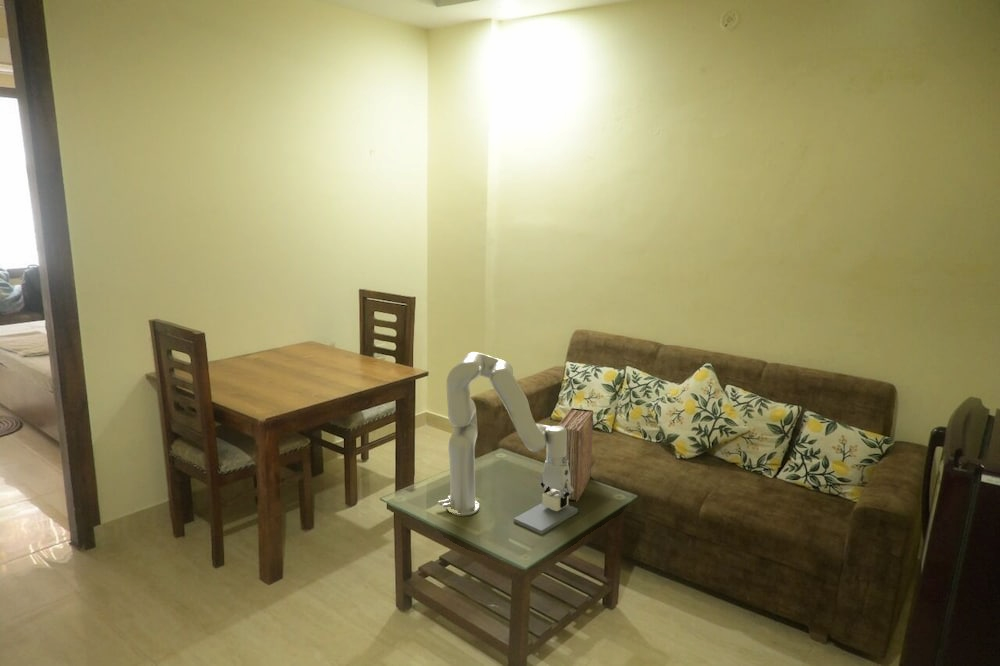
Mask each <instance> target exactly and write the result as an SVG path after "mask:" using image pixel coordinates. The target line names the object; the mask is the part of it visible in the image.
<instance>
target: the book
mask: <svg viewBox="0 0 1000 666" xmlns="http://www.w3.org/2000/svg"><path fill="white" fill-rule="evenodd" d="M593 421H594V410H589V409H582V408H574V407H571V408H570V409H569V411H568V412H567V413H566V415H565V416H563V418H562V419H561V421H560V422H559V423H558V424H557V425H556V426H562V427H564V428H566V430H567V460H569V462H568V465H569V471H570V485H571V486H572V488H573V489H574V491H573V492H572V493H571V494H570V495H569V497H568V500H572V501H575V502H576V503H577V502H579V500H580V499H581V497H582V494H583V492H584V491H585V489H586V487H587V485H588V483H589V481H590V479H591V478H592V456H593V455H592V454H593V451H592V449H593V427H594V426H593V425H594V423H593ZM566 489H567V488H566ZM563 492H564V491H563ZM567 492H568V489H567Z"/></svg>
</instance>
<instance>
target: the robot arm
mask: <svg viewBox="0 0 1000 666" xmlns="http://www.w3.org/2000/svg"><path fill="white" fill-rule="evenodd" d="M479 377H484V378H487V379H489V382H490V384H491V386H492V388H493V389H494V391H495V392H496V395H498V398H499V399H500V401H501V402H502V404H503V406H504V407H505V410H507V413H508V416H509V418H510V420H511V422H512V424H513V427H514V428H515V430H516V432H517V435H518V436H519V438H520V439H521V441H522V443H523V444H524V446H525V447H526V448H527V449H528V451H530V452H532V453H538V452H541V451H542V450H544V449H545V450H546V453H545V454H546V455H545V456H546V457H545V458H546V459H545V461H544V463H543V464H544V465H543V471H542V475H541V476H540V477H538V481H539V483H540V485H541V487H542V491H543V494H544V493H546V492H548V491H550V490H551V489H556V490H559V491H560V494H561V496H562V497H561V501H560V507H561V508H563V507H565V506H566V505H567V496H569V495H570V494H571V493H572V492H573V491H574V489H573V488H572V486H571V485H570V471H569V465H568V462H569V460H567V430H566V428H564V427H562V426H557V425H547V424H542V423H536V421H535V419H534V418H533V414H532V412H531V408H530V404H529V401H528V400H529V399H528V398H527V396H526V394H525V393H524V391H523V389H522V388H521V386H520V385H519V383H518V381H517V379H516V378H515V376H514V368H513V366H512V365H511V364H510V363H509V362H508V361H505V360H503V359H500V358H497V357H493V356H491V355H488V354H484V353H482V352H477V351H471V352H468V353H467V354H465V355H464V357H463V358H462V360H461V361H460V362H459V363H458V364H455V366H454V367H452V368H451V370H450V371H449V372H448V375H447V378H446V395H447V396H446V399H447V400H446V401H447V416H448V421H449V423H450V424H451V425H452V430H453V431H452V433H451V435H450V438H449V441H448V445H447V446H448V458H449V492H450V493H449V494H450V495H448V496H447V498H446V499H444V500H443V499H440V500H438V501H437V504H439V505H441V506H442V508H447V507H451V509H454V510H457V511H458V513H460V514H457V513H453V512H452V514H451V515H454V516H459V517H461V516H462V517H465V516H471V515H474V514H475V513H477V512H478V511H479V510H480V503H479V502H478V501H477V500H476V460H475V456H476V455H475V447H476V441H477V438H478V422H477V421H478V418H477V407H476V403H475V402H474V400H473V399H472V398H471V389H470V385H471V383H472V382H473V381H474V380H477V379H478V378H479ZM566 488H567V489H568V492H567V489H566ZM563 491H564V492H563ZM564 493H565V494H564ZM439 505H438V506H439Z"/></svg>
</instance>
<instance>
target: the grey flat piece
mask: <svg viewBox="0 0 1000 666" xmlns="http://www.w3.org/2000/svg"><path fill="white" fill-rule="evenodd" d="M558 495H559V494H556V495H554V496H552V497H554V498H555V497H556V496H558ZM578 512H579V508H577V507H575V506H572V505H570V504H568V505H567V506H565V507H564V508H562V509H560V510H558V511H555V510H553V509H550V508H548V507H545V506H543V505H542V502H541V503H539V504H538V505H535V506H534V507H532V508H530V509H529V510H527V511H525V512H523V513H521V514H519V515H518V516H516V517H514V518H513V523H514V524H517V525H519V526H522V527H524V528H526V529H529V530H531V531H533V532H535V533H538V535H539V534H540V535H541V536H542V535H544V534H545V533H547V532H548V531H551V529H553V528H555V527H556V526H558V525H559V524H561V523H563V522H565V521H566V520H568V519H570V518H571V517H573V516H574V515H575V514H578Z"/></svg>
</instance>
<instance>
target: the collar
mask: <svg viewBox="0 0 1000 666" xmlns="http://www.w3.org/2000/svg"><path fill="white" fill-rule="evenodd" d="M550 489H551V490H550V491H548V492H546V493H544V492H543V493H542V495H541V496H542V499H541V503H542V505H543V506H545V507H548V508H550V509H553V510H555V511H558V510H560V509H562V508H561V507H560V501H561V497H562V496H561V494H560V491H559V490H556V489H553V488H550ZM556 494H559V495H558V496H556V497H555V498H554V497H552V496H554V495H556ZM564 494H565V493H564ZM568 497H569V496H567V505H569V499H568ZM567 505H566V506H567ZM563 508H564V507H563Z"/></svg>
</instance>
